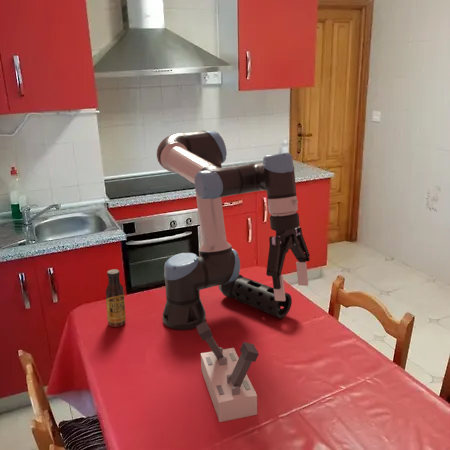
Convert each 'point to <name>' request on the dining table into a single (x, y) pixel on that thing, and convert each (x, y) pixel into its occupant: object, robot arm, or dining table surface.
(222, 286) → the muzzle brake
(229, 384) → the switch panel
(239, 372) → the outer lever
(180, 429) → the dining table surface
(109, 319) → the sauce bottle
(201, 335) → the inner lever
